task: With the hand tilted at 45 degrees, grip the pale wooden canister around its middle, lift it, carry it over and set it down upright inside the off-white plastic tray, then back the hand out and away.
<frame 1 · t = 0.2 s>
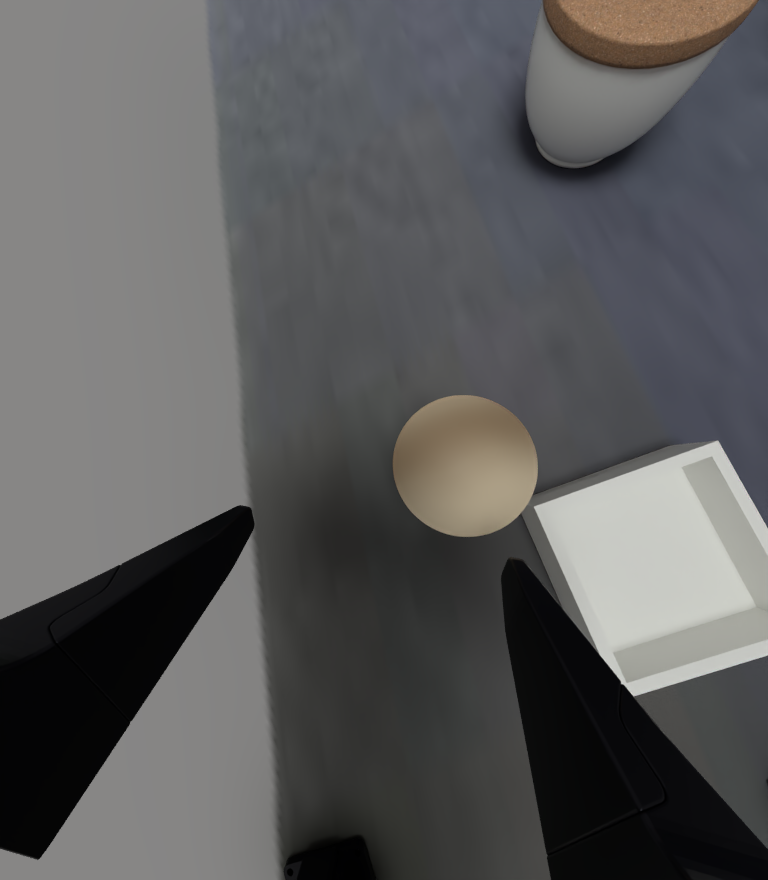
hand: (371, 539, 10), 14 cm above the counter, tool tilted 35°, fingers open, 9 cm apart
canister: (439, 467, 24), on the counter
tray: (629, 551, 21), on the counter
lidded bowl: (574, 136, 26), on the counter
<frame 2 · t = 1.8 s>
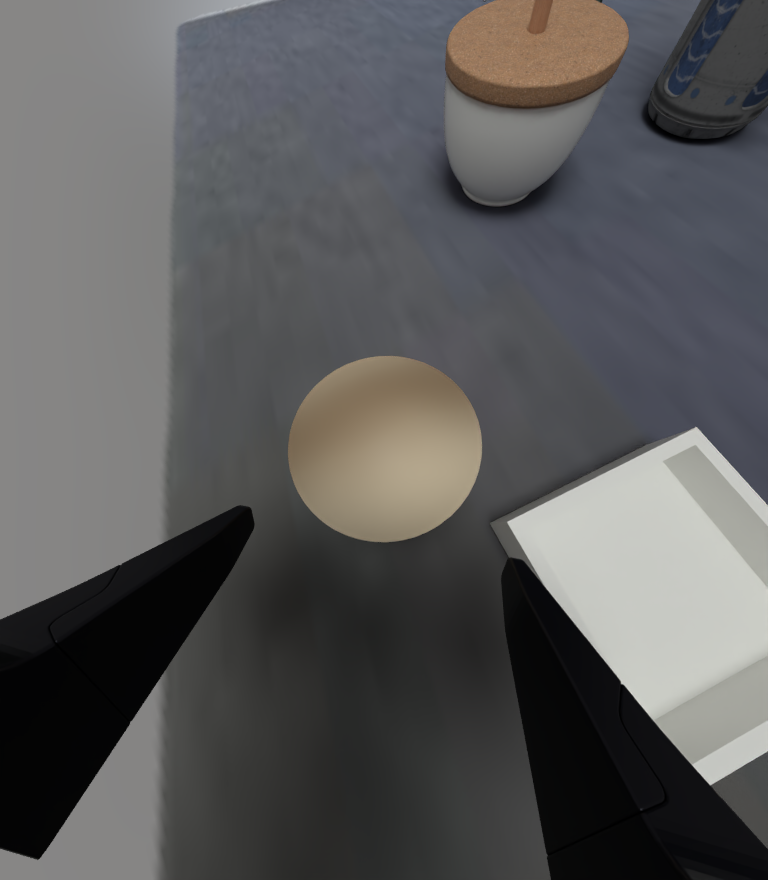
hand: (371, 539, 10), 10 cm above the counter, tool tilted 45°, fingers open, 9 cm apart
canister: (396, 490, 20), on the counter
beverage bottle: (695, 123, 29), on the counter
tray: (633, 574, 17), on the counter
lidded bowl: (496, 184, 29), on the counter
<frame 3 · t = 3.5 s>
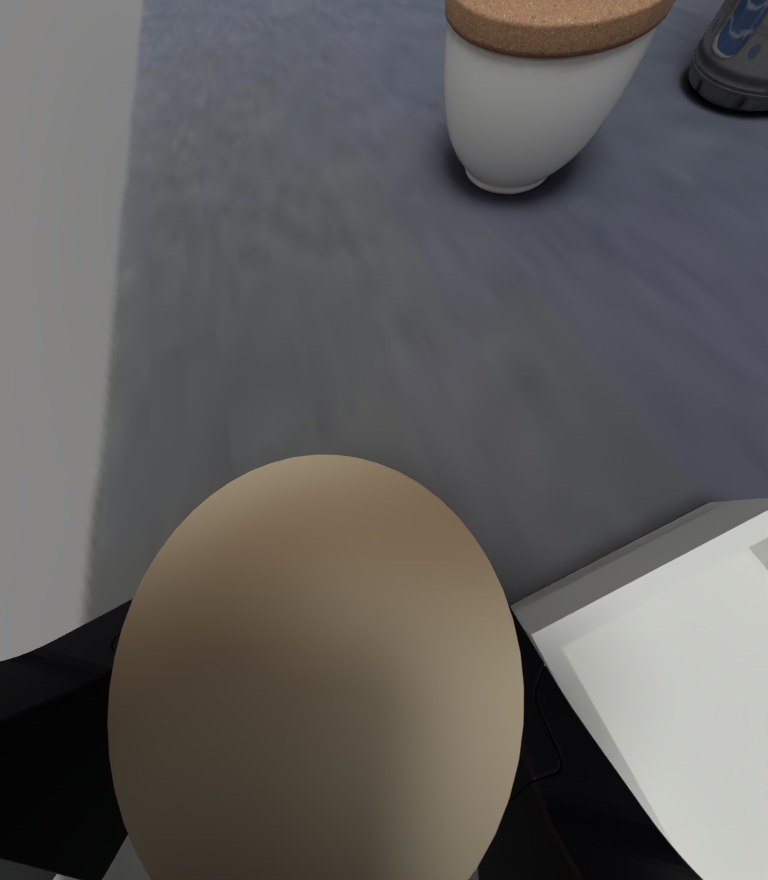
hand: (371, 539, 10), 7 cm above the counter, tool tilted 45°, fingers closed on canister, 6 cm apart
canister: (381, 559, 15), on the counter, touching gripper
beverage bottle: (746, 94, 24), on the counter
tray: (698, 689, 13), on the counter
lidded bowl: (506, 168, 24), on the counter
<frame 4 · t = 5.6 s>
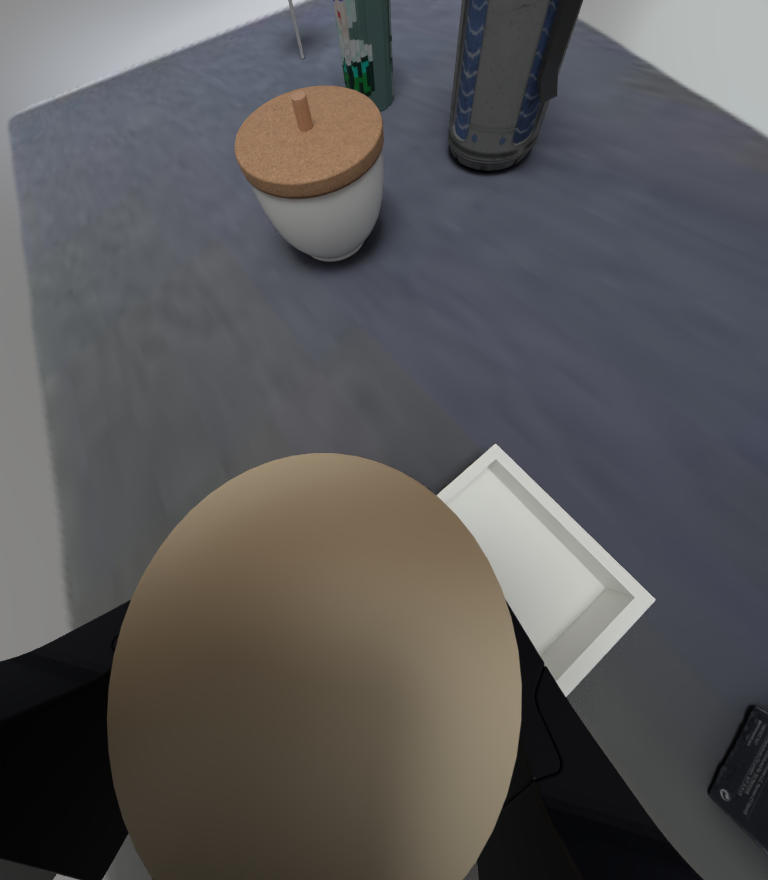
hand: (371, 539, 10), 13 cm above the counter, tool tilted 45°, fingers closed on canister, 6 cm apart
can: (370, 102, 39), on the counter
canister: (381, 559, 15), point 6 cm above the counter, touching gripper
beverage bottle: (492, 154, 34), on the counter
lollipop: (303, 60, 44), on the counter
tray: (483, 572, 21), on the counter
lidded bowl: (334, 239, 32), on the counter
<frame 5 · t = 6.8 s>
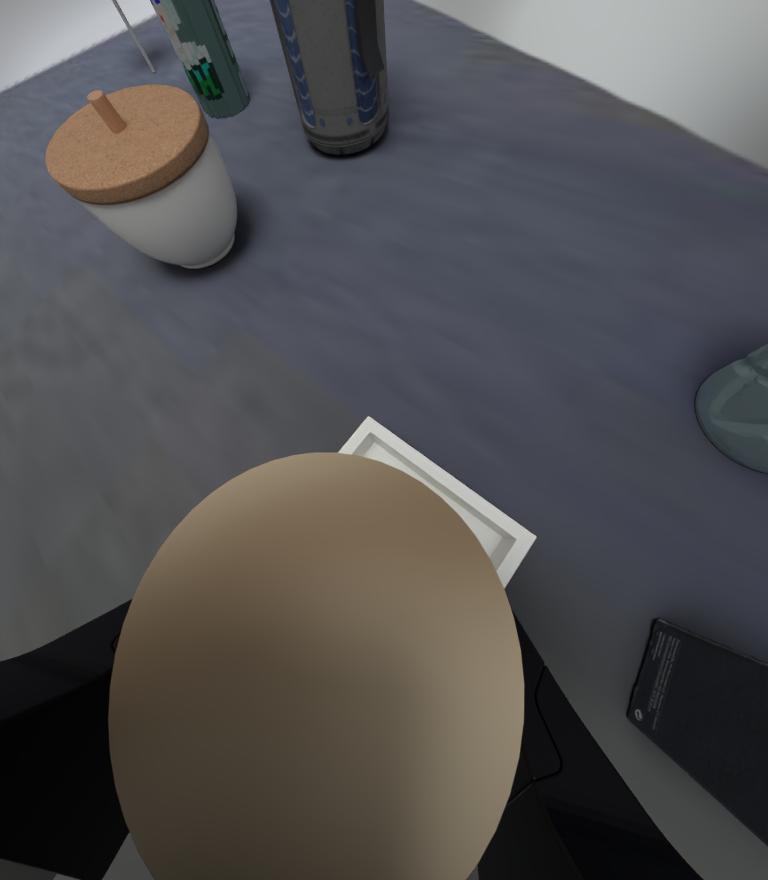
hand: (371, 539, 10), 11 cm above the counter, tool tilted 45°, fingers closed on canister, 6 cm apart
can: (228, 105, 38), on the counter
small box: (731, 722, 16), on the counter
canister: (381, 558, 15), point 4 cm above the counter, touching gripper
drinking glass: (760, 421, 20), on the counter
beverage bottle: (352, 138, 34), on the counter
lollipop: (155, 73, 42), on the counter
tray: (387, 549, 20), on the counter
lidded bowl: (204, 245, 31), on the counter
when the fingers open (8 cm above the counter, at t = 7.8 s): canister stays where it is, resting on tray.
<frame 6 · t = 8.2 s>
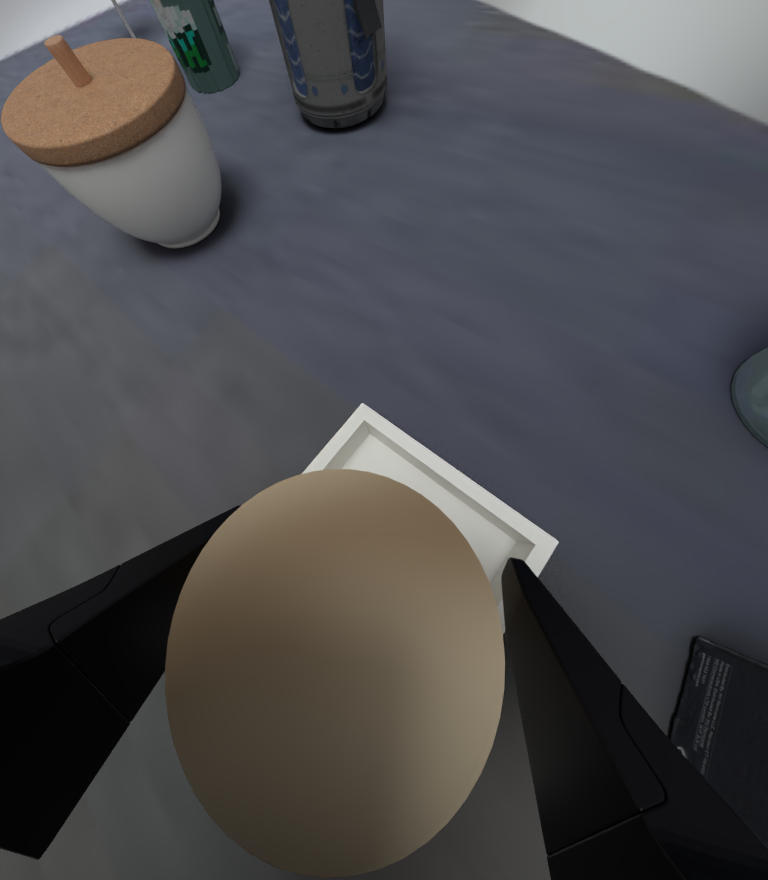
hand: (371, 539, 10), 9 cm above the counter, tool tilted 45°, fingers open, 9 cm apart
can: (216, 81, 36), on the counter
canister: (383, 558, 16), point 1 cm above the counter, touching tray
beverage bottle: (348, 112, 32), on the counter
lollipop: (141, 50, 40), on the counter
tray: (384, 555, 17), on the counter
lidded bowl: (187, 224, 28), on the counter
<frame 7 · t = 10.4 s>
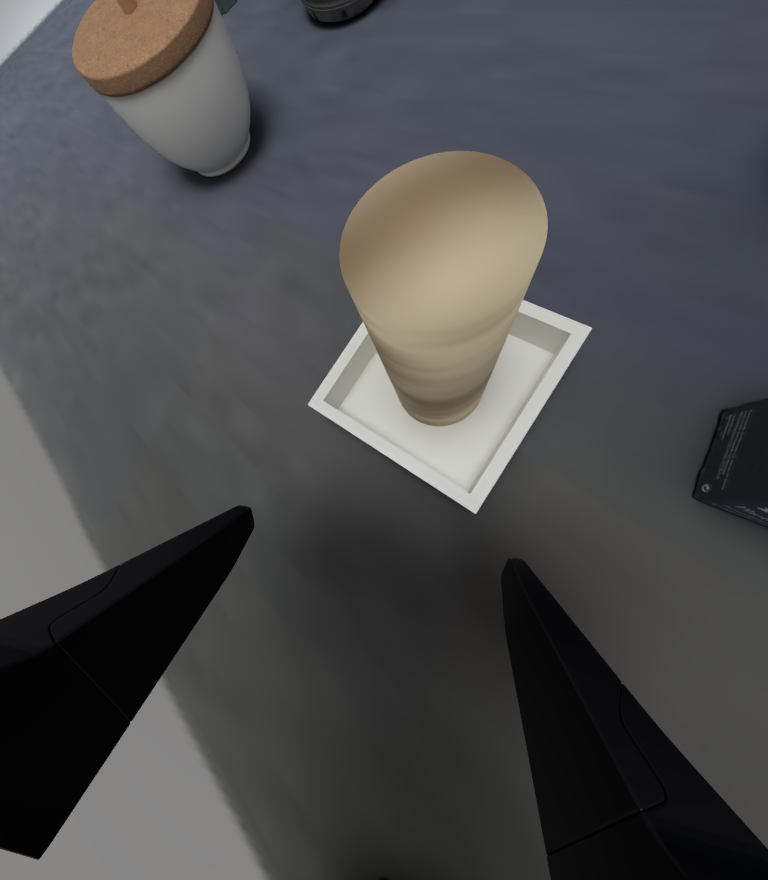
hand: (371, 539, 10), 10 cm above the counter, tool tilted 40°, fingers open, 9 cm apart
can: (219, 3, 36), on the counter
canister: (439, 385, 20), point 1 cm above the counter, touching tray
beverage bottle: (353, 0, 31), on the counter
tray: (438, 389, 21), on the counter
lidded bowl: (223, 152, 31), on the counter
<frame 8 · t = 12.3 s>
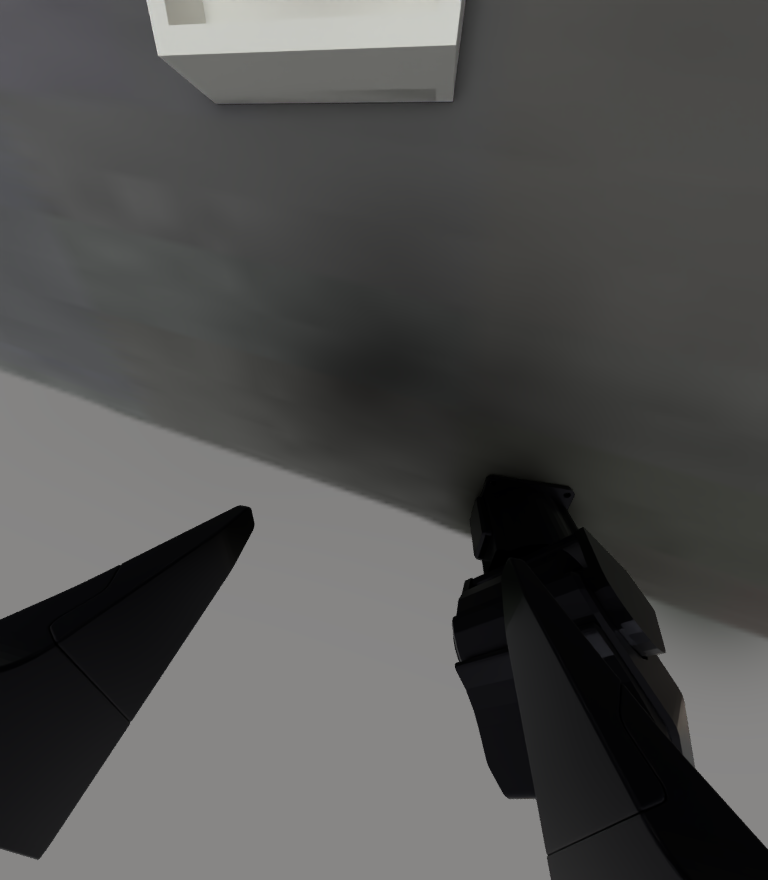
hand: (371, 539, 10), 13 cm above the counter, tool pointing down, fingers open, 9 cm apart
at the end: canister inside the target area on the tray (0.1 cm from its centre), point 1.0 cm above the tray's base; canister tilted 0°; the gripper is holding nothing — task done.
